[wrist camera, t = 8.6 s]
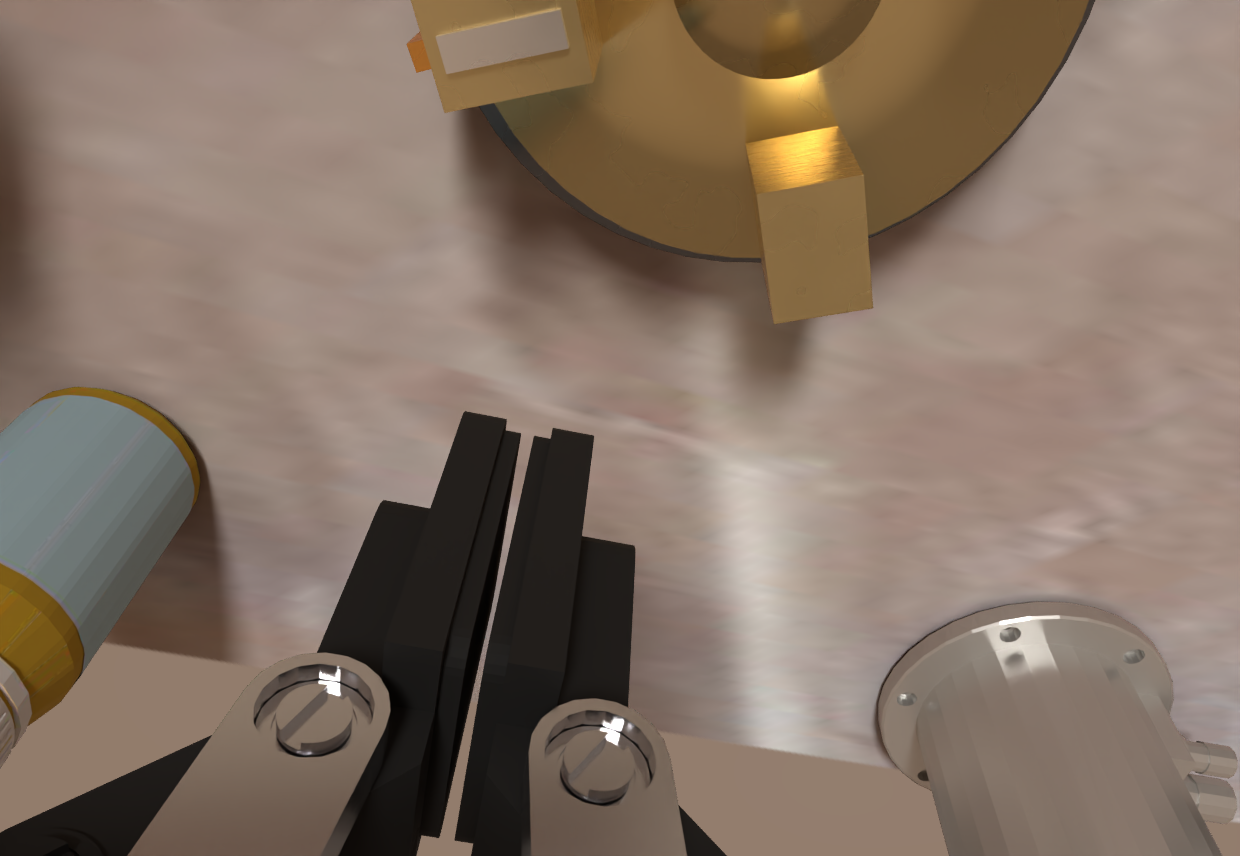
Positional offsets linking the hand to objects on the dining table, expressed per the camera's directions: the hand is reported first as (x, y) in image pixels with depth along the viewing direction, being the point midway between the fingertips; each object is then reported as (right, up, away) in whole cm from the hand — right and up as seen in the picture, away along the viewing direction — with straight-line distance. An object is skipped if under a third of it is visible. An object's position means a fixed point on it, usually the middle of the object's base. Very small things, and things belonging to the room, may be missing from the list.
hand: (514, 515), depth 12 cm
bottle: (-19, 0, +26) cm, 32 cm away
